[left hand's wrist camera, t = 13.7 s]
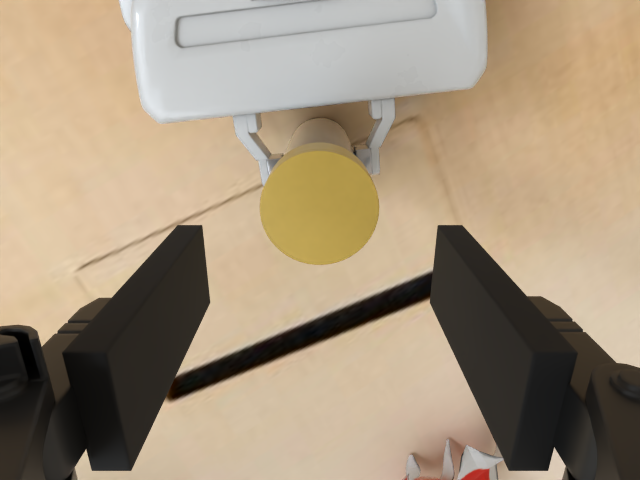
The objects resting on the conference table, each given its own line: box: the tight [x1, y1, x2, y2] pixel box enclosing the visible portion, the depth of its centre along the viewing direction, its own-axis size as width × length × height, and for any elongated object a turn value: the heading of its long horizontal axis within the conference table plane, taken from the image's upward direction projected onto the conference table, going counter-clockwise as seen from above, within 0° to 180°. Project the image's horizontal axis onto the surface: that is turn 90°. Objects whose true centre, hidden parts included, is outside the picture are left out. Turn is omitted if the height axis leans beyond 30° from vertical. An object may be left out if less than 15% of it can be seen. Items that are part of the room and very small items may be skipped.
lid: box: [260, 142, 379, 265], centre depth 20 cm, size 5×5×2 cm
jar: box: [285, 118, 355, 155], centre depth 27 cm, size 5×5×16 cm
